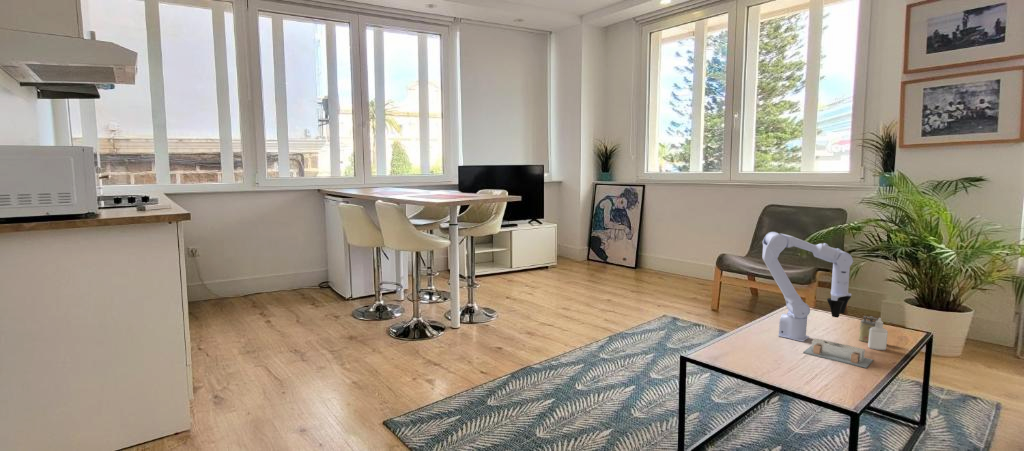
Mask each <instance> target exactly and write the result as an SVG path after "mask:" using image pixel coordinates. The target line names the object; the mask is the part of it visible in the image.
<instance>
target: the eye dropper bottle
mask: <svg viewBox="0 0 1024 451" xmlns="http://www.w3.org/2000/svg"><path fill="white" fill-rule="evenodd" d="M874 322H875V321H874ZM888 336H889V335H888V330H887V329H886V328H884V322H883V321H882V318H881V317H878V321H876V322H875V327H871V328H870V331H869V341H868V342H867V347H868V348H869V349H870V350H871V349H872V350H876V351H886V350H887V345H888V344H887V343H888Z"/></svg>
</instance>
